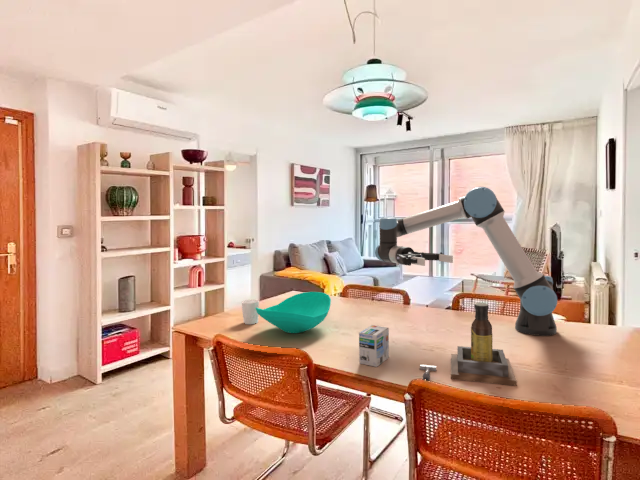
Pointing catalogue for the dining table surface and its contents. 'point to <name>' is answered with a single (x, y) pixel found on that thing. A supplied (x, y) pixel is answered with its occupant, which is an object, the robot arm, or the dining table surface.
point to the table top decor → (298, 312)
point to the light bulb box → (373, 345)
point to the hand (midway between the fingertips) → (438, 260)
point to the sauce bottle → (481, 335)
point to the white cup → (250, 311)
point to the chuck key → (427, 370)
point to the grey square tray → (482, 368)
